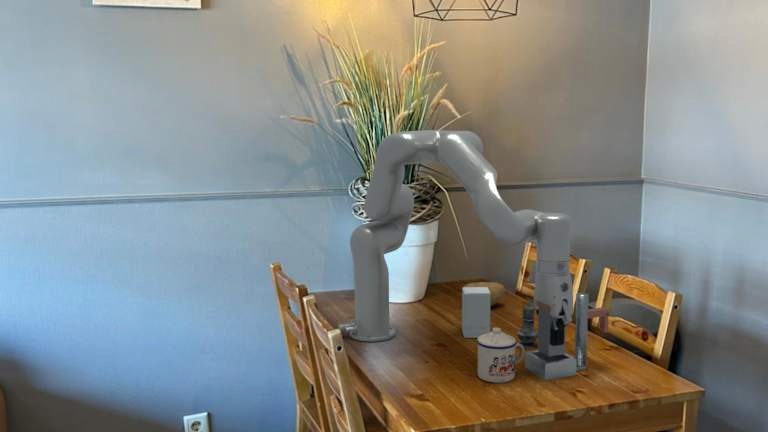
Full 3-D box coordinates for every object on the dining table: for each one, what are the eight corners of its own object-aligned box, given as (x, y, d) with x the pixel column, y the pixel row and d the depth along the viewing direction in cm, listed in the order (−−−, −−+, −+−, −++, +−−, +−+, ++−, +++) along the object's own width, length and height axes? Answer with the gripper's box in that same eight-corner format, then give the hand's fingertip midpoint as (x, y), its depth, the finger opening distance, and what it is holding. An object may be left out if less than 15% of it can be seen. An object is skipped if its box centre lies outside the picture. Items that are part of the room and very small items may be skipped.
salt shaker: (539, 350, 184) (540, 305, 182) (516, 348, 185) (516, 304, 183) (538, 342, 190) (539, 299, 188) (516, 341, 191) (517, 298, 189)
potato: (511, 308, 221) (511, 283, 220) (469, 313, 218) (469, 287, 216) (497, 300, 231) (497, 276, 230) (457, 304, 227) (457, 280, 226)
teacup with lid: (489, 386, 161) (489, 336, 159) (469, 372, 169) (469, 325, 167) (534, 378, 165) (535, 329, 164) (512, 365, 174) (513, 319, 172)
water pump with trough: (544, 380, 164) (546, 304, 161) (525, 367, 172) (526, 295, 169) (615, 368, 171) (618, 295, 168) (593, 357, 178) (595, 287, 176)
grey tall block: (567, 354, 167) (568, 304, 165) (548, 357, 165) (549, 306, 163) (554, 347, 172) (555, 298, 170) (535, 350, 170) (536, 300, 168)
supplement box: (490, 338, 194) (491, 293, 192) (463, 338, 194) (463, 293, 192) (487, 329, 201) (488, 286, 199) (461, 329, 202) (461, 286, 200)
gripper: (588, 272, 159) (586, 350, 161) (546, 257, 174) (544, 329, 177) (560, 275, 156) (558, 355, 159) (519, 260, 172) (518, 333, 174)
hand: (551, 340), depth 168 cm, fingers closed on grey tall block, 4 cm apart
